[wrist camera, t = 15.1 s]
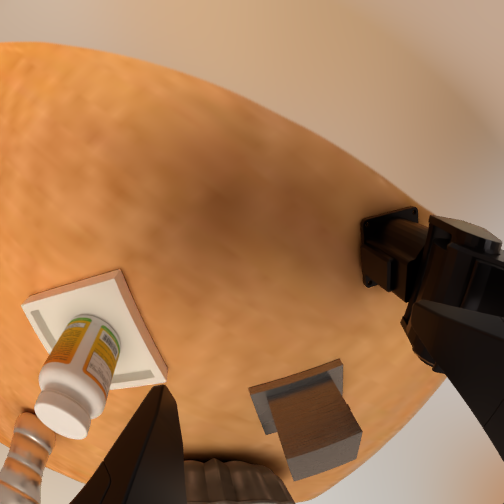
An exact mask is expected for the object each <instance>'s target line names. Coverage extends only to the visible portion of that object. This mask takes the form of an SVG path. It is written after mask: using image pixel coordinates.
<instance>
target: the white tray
mask: <svg viewBox="0 0 504 504" xmlns="http://www.w3.org/2000/svg"><path fill="white" fill-rule="evenodd" d="M21 307H22V308H23V310H24V312H25V314H26V316H27V318H28V320H29V322H30V323H31V325H32V327H33V329H34V330H35V332H36V334H37V336H38V337H39V339H40V341H41V342H42V344H43V345H44V347H45V349H46V350H47V352H48V353H49V355H50V353H51V351H52V349H53V348H54V346H55V344H56V343H57V341H58V339H59V338H60V336H61V334H62V333H63V331H64V329H65V328H66V326H67V325H68V323H69V322H70V321H71V320H72V319H73V318H75V317H77V316H81V315H88V316H93V317H96V318H99V319H101V320H102V321H104V322H106V323H107V324H108V325H109V326H110V327H111V328H112V329H113V330H114V331H115V333H116V334H117V336H118V339H119V341H120V347H121V349H120V354H119V358H118V361H117V364H116V368H115V371H114V374H113V378H112V382H111V385H110V389H109V390H113V389H122V388H130V387H137V386H144V385H151V384H157V383H164V382H167V373H168V368H167V366H166V364H165V363H164V361H163V359H162V357H161V355H160V353H159V351H158V350H157V348H156V346H155V344H154V342H153V340H152V338H151V336H150V334H149V332H148V330H147V328H146V326H145V324H144V322H143V320H142V317H141V315H140V313H139V311H138V309H137V307H136V304H135V302H134V300H133V298H132V295H131V293H130V291H129V288H128V286H127V284H126V281H125V279H124V276H123V274H122V271H121V269H118V270H115V271H112V272H108V273H105V274H101V275H98V276H94V277H91V278H88V279H84V280H81V281H77V282H74V283H71V284H67V285H64V286H61V287H57V288H54V289H51V290H48V291H44V292H41V293H38V294H35V295H31V296H29V297H28V298H27V299H26V300H25V302H24V303H23V304H22V305H21Z"/></svg>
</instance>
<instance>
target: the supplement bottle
mask: <svg viewBox="0 0 504 504" xmlns="http://www.w3.org/2000/svg"><path fill="white" fill-rule="evenodd" d="M120 349H121V347H120V341H119V339H118V336H117V334H116V333H115V331H114V330H113V329H112V328H111V327H110V326H109V325H108V324H107V323H106V322H104V321H102V320H101V319H99V318H96V317H93V316H88V315H81V316H77V317H75V318H73V319H72V320H71V321H70V322H69V323H68V325H67V326H66V328H65V329H64V331H63V333H62V334H61V336H60V338H59V339H58V341H57V343H56V344H55V346H54V348H53V349H52V351H51V353H50V355H49V356H48V358H47V360H46V362H45V363H44V365H43V367H42V369H41V371H40V374H39V385H40V388H41V390H42V391H41V393H40V394H39V396H38V399H37V401H36V404H35V407H34V410H35V413H36V415H37V417H38V418H39V419H40V420H41V421H42V422H43V423H44V424H45V425H46V426H47V427H49V428H50V429H51V430H53V431H55V432H56V433H58V434H60V435H62V436H65V437H68V438H72V439H83V438H85V437H86V436H87V434H88V431H89V427H90V424H91V419H94V418H96V417H98V416H99V415H100V414H101V413H102V412H103V410H104V407H105V404H106V400H107V396H108V392H109V389H110V385H111V382H112V378H113V374H114V371H115V368H116V364H117V361H118V358H119V354H120Z"/></svg>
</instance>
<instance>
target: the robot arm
mask: <svg viewBox="0 0 504 504" xmlns="http://www.w3.org/2000/svg"><path fill="white" fill-rule="evenodd" d="M367 222H368V225H367V226H365V225H366V223H367ZM361 238H362V245H361V259H362V272H363V283H364V285H365V286H366V287H368V288H370V287H373V286H375V285H380V286H381V287H382V288H383V289H385V290H386V291H387V292H391V291H392V292H393V293H394V294H396V295H397V296H398V297H399V298H401V299H402V300H403V301H404V302H406V303H407V302H409V303H408V306H407V309H406V312H405V315H404V316H403V317H402V320H401V322H400V323H401V325H402V327H403V329H404V331H405V333H406V335H407V337H408V339H409V341H410V343H411V345H412V347H413V348H412V350H413V351H414V353H415V354H416V355H417V356H418V357H419V358H420V360H421V361H423V362H424V363H425V364H427V365H429V366H431V367H433V368H432V370H433V371H434V372H438V373H443V374H445V375H446V376H447V377H448V379H449V380H450V381H451V383H452V384H453V385H454V387H455V388H456V389H457V391H458V392H459V394H460V395H461V396H462V398H463V399H464V401H465V402H466V404H467V405H468V406H469V408H470V409H471V411H472V412H473V414H474V415H475V417H476V418H477V420H478V421H479V423H480V424H481V425H482V427H483V429H484V430H485V432H486V433H487V435H488V437H489V438H490V440H491V441H492V443H493V445H494V446H495V448H496V450H497V451H498V453H499V455H500V456H501V458H502V460H503V461H504V250H501V246H502V241H501V240H500V239H498V238H497V237H496V236H494V235H493V234H492V233H490V232H489V231H487V230H486V229H484V228H482V227H479V226H476V225H474V224H471V223H468V222H465V221H462V220H456V219H451V218H445V217H440V216H434V215H430V216H429V228H428V227H425V226H423V225H421V224H418V209H417V208H416V207H414V206H410V207H407V208H403V209H399V210H395V211H391V212H387V213H383V214H380V215H376V216H372V217H368V218H365V219H363V220H362V221H361ZM369 281H370V282H369ZM368 282H369V283H368ZM69 504H187V495H186V484H185V471H184V455H183V441H182V435H181V429H180V423H179V416H178V410H177V404H176V401H175V399H174V397H173V396H172V394H171V393H170V391H169V390H168V388H167V387H166V386H165V385H157V386H153V387H152V388H151V390H150V391H149V393H148V394H147V396H146V397H145V399H144V400H143V402H142V403H141V405H140V406H139V408H138V409H137V411H136V412H135V414H134V415H133V417H132V418H131V419H130V421H129V422H128V424H127V425H126V427H125V428H124V430H123V431H122V433H121V434H120V436H119V437H118V439H117V440H116V442H115V443H114V445H113V446H112V448H111V449H110V451H109V452H108V454H107V455H106V457H105V458H104V461H102V462H101V464H100V465H99V467H98V468H97V470H96V471H95V473H94V474H93V476H92V477H91V478H90V480H89V481H88V482H87V483H86V485H85V486H84V487H83V488H82V490H81V491H80V492H79V493H78V494H77V495H76V497H75V498H74V499H73V500H72V501H71V502H70V503H69ZM503 504H504V503H503Z"/></svg>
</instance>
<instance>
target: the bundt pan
mask: <svg viewBox="0 0 504 504" xmlns="http://www.w3.org/2000/svg"><path fill="white" fill-rule="evenodd" d="M184 471H185V484H186V495H187V504H295V502H294V500H293V499H292V497H291V495H290V493H289V492H288V490H287V488H286V486H285V485H284V483H283V481H282V480H281V479H280V478H279V477H278V476H276V475H275V474H274V473H273V472H272V471H271V470H270V469H269V468H267V467H265V466H263V465H258V464H249V463H246V462H243V461H229V462H225V463H223V462H221V461H219V460H218V459H216V458H212V459H211V460H209V461H207V462H206V463H202V462H199V461H194V460H186V461H184Z"/></svg>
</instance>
